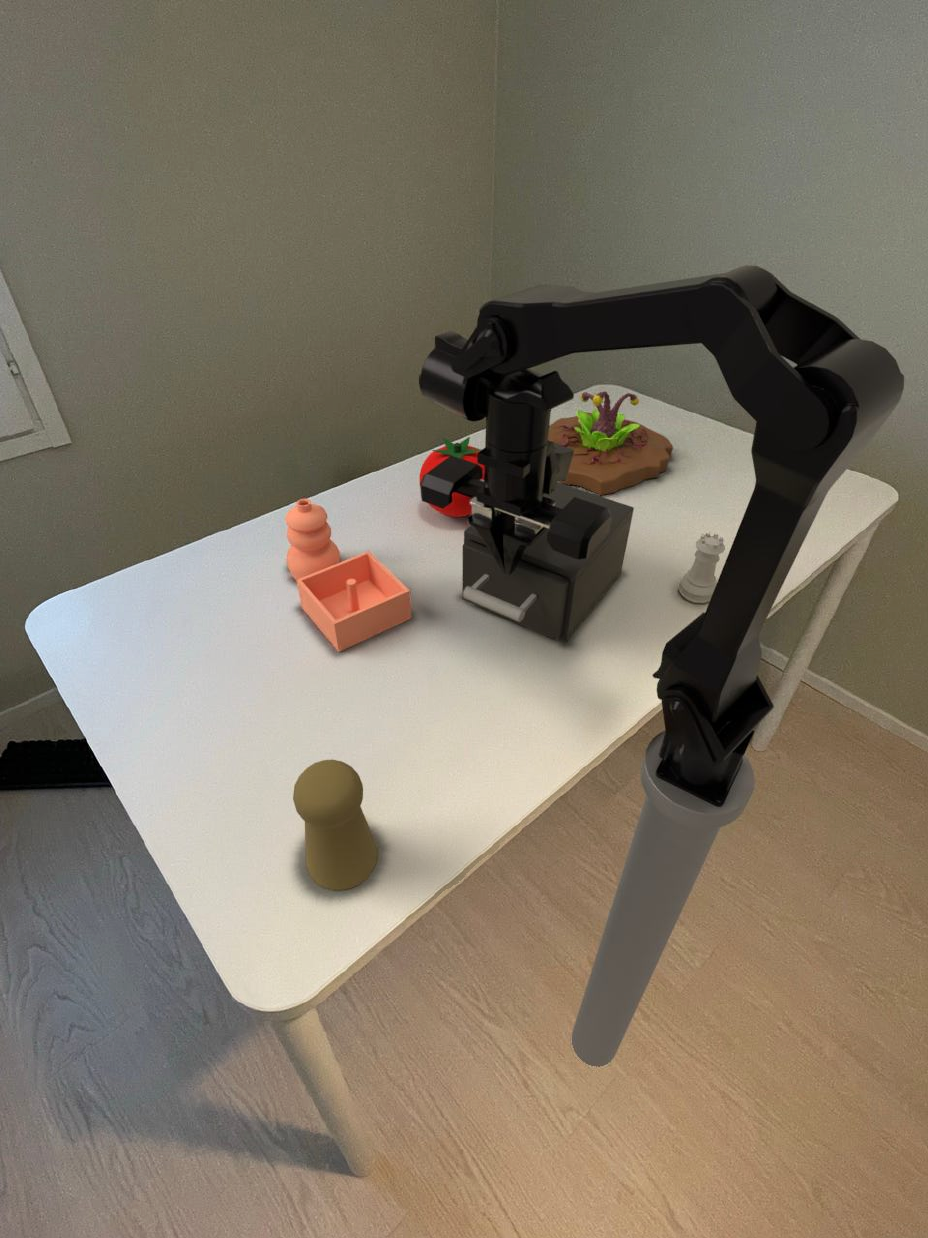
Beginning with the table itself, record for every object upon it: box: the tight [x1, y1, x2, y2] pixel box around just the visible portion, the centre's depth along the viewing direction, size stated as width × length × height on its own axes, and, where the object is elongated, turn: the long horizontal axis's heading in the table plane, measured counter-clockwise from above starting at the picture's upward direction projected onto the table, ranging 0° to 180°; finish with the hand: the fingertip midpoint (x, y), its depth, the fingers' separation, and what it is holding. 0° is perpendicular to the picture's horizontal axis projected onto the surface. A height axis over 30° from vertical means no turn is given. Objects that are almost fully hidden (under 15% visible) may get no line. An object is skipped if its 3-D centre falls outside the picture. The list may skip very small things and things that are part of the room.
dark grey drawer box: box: [463, 481, 635, 643], centre depth 83 cm, size 15×14×10 cm
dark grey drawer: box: [461, 540, 570, 641], centre depth 80 cm, size 18×13×8 cm
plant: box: [548, 391, 674, 496], centre depth 105 cm, size 20×20×11 cm
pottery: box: [284, 498, 412, 653], centre depth 81 cm, size 18×10×10 cm, turn 36°
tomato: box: [418, 436, 485, 518], centre depth 95 cm, size 10×10×10 cm
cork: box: [292, 759, 379, 892], centre depth 56 cm, size 6×6×11 cm
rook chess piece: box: [678, 532, 726, 604], centre depth 82 cm, size 4×4×8 cm
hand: (508, 572), depth 75 cm, fingers closed, pressing on dark grey drawer
